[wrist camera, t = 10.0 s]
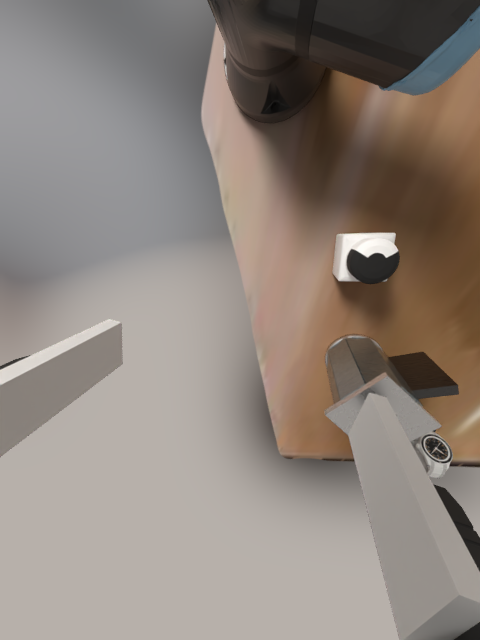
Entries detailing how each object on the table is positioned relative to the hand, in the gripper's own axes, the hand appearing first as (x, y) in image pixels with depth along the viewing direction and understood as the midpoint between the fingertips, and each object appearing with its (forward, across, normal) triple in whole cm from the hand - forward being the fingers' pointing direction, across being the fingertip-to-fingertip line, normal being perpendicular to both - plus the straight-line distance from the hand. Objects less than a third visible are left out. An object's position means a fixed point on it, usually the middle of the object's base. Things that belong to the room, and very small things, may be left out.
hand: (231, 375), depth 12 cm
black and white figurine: (+37, +12, +6) cm, 39 cm away
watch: (+37, +36, -26) cm, 58 cm away
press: (+37, +21, -13) cm, 44 cm away
